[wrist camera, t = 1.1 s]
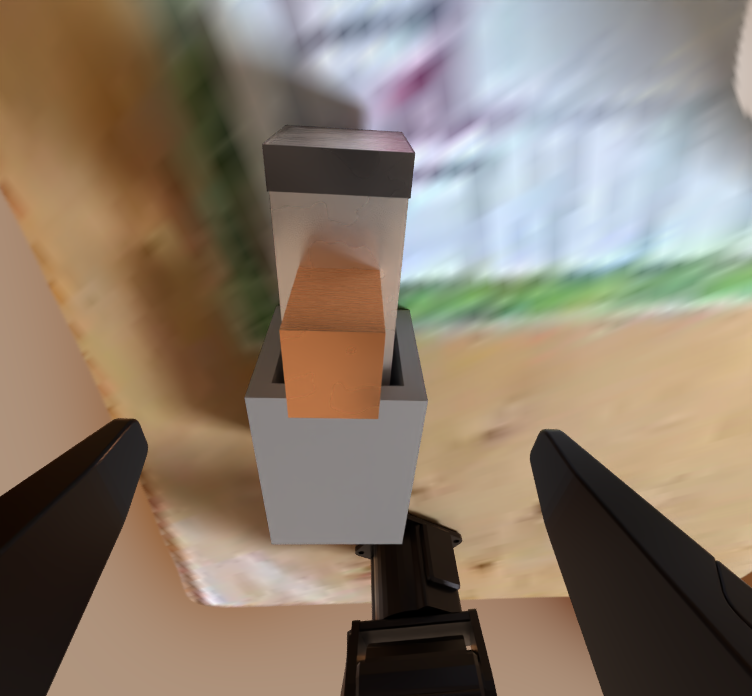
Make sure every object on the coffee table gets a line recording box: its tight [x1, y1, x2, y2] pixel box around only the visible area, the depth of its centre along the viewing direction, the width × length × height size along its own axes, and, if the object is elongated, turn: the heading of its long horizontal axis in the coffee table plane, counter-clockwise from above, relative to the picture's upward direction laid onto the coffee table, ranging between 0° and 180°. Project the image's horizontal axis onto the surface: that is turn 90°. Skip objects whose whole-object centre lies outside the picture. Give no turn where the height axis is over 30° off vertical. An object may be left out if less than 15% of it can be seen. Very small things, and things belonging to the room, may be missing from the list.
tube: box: [262, 125, 415, 419], centre depth 16 cm, size 18×4×8 cm, turn 177°
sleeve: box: [245, 306, 428, 544], centre depth 20 cm, size 10×7×7 cm, turn 177°
